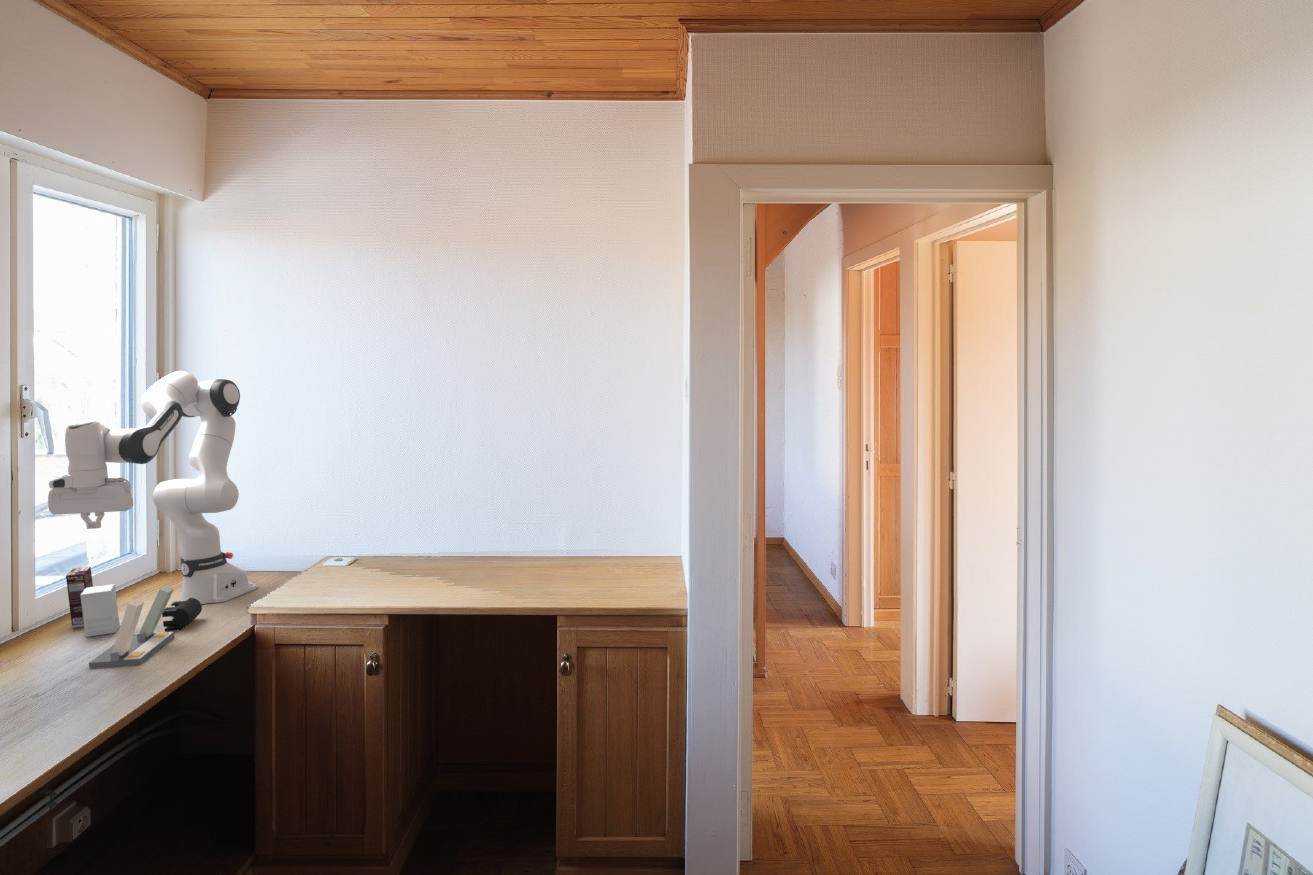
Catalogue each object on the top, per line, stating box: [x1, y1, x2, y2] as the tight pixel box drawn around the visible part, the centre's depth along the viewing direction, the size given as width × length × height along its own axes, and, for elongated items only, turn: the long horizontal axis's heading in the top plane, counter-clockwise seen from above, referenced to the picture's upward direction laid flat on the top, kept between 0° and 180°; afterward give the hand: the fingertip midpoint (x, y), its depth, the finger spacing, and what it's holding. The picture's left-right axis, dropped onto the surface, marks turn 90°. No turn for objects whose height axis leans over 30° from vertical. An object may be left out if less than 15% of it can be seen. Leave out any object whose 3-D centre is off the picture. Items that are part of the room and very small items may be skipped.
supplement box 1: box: [65, 566, 94, 629], centre depth 242 cm, size 9×5×16 cm, turn 23°
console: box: [88, 631, 175, 670], centre depth 218 cm, size 12×20×4 cm, turn 8°
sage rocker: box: [138, 585, 175, 637], centre depth 224 cm, size 2×4×15 cm, turn 8°
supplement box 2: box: [80, 583, 121, 638], centre depth 234 cm, size 7×7×13 cm
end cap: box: [161, 598, 203, 632], centre depth 238 cm, size 10×7×7 cm
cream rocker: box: [112, 599, 145, 656], centre depth 211 cm, size 2×4×15 cm, turn 10°
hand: (94, 528), depth 227 cm, fingers closed
